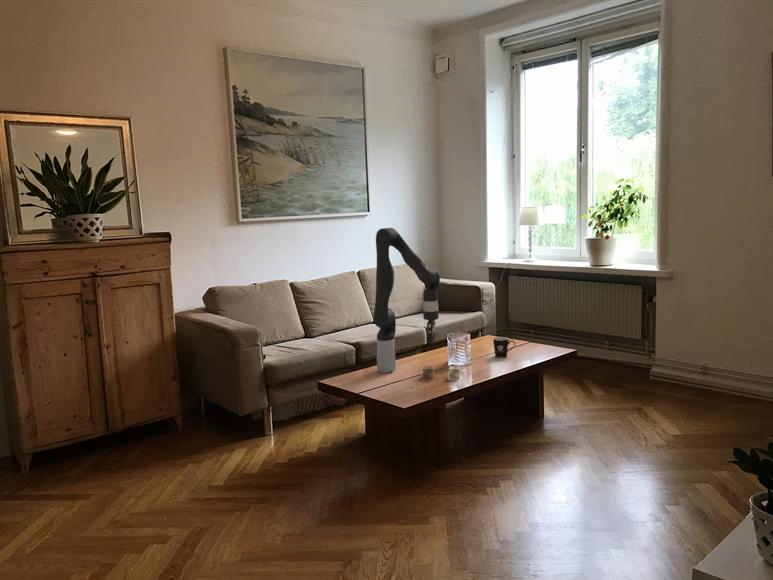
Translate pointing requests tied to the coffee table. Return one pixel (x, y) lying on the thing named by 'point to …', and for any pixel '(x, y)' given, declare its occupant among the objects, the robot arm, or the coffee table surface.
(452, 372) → the birch base cube
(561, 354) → the coffee table surface
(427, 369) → the walnut cube
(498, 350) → the coffee mug
